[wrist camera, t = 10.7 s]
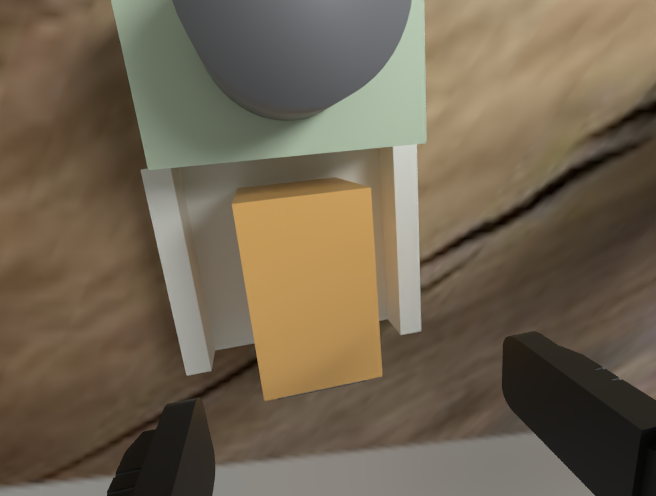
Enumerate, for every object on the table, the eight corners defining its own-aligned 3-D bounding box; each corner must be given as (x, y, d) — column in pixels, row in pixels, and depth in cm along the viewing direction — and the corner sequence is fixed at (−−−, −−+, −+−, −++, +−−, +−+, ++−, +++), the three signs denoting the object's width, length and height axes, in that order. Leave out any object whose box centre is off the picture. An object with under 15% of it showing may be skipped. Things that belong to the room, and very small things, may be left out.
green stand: (391, -4, 18) (547, -180, 8) (403, 312, 22) (513, 428, 13) (120, 2, 16) (-76, -222, 6) (194, 349, 20) (144, 521, 11)
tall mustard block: (335, 177, 19) (370, 187, 13) (348, 329, 21) (383, 392, 16) (237, 188, 18) (231, 204, 13) (262, 344, 21) (266, 417, 15)
